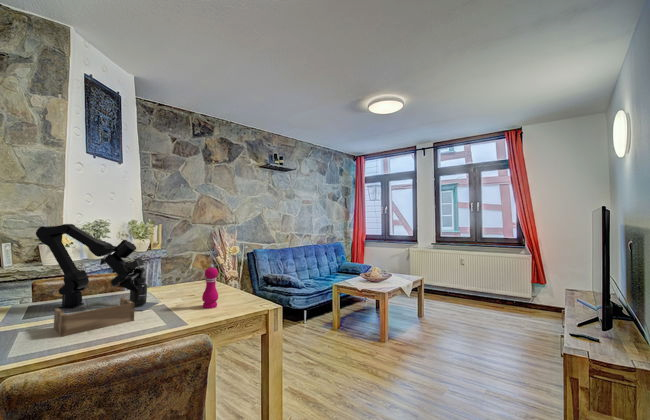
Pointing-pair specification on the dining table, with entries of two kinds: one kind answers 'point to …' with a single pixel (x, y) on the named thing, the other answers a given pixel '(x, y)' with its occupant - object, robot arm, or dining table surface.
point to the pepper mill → (210, 288)
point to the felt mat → (144, 306)
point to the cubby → (93, 318)
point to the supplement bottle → (139, 292)
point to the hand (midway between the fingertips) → (141, 289)
